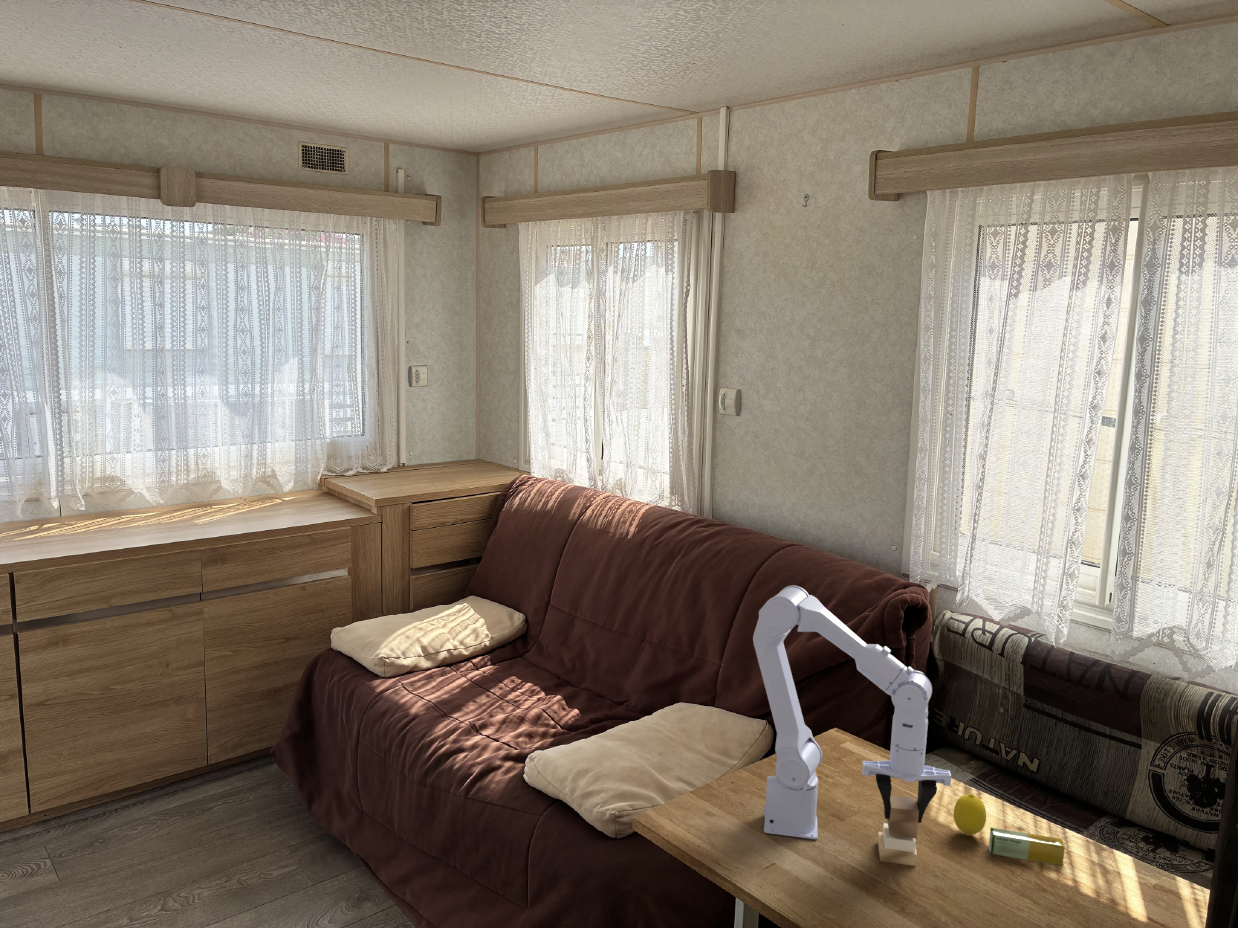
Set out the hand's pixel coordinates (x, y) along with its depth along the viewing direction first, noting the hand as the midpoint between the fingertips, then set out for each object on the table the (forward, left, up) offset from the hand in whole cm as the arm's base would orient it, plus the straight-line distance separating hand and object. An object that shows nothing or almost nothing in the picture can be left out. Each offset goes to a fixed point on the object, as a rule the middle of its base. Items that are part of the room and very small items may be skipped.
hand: (902, 817), depth 161 cm
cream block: (0, 0, -5) cm, 5 cm away
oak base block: (0, 0, -7) cm, 7 cm away
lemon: (+13, +10, -7) cm, 18 cm away
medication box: (+22, +5, -7) cm, 24 cm away
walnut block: (0, 0, -2) cm, 2 cm away
